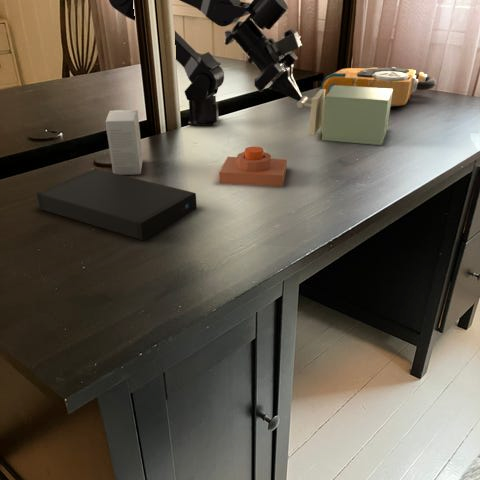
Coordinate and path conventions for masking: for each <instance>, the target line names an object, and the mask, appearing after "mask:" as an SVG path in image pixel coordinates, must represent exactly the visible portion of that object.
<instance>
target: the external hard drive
mask: <svg viewBox="0 0 480 480" xmlns="http://www.w3.org/2000/svg"><path fill="white" fill-rule="evenodd" d="M36 198H37V202H38V206H39V209H40V210H42V211H46V212H49V213H52V214H55V215H58V216H62V217H65V218H68V219H70V220H71V219H72V220H75V221H78V222H81V223H84V224H87V225H91V226H94V227H97V228H99V229H104V230H107V231H110V232H114V233H117V234H120V235H124V236H127V237H130V238H132V239H137V240H140V241H143V242H144V241H146V240H148V239H149V238H151V237H152V236H155V235H156V234H158V233H159V232H161V231H162V230H164V229H166V228H168V227H169V226H171V225H173V224H174V223H176V222H178V221H180V220H181V219H183V218H184V217H186V216H188V215H189V214H191V213H193V212H194V211H196V210H197V209H198V207H197V193H196V192H193V191H188V190H185V189H180V188H177V187H172V186H169V185H165V184H160V183H157V182H153V181H152V182H151V181H147V180H144V179H140V178H136V177H131V176H128V175H119V174H115V173H113V172H111V171H106V170H102V169H98V168H94V169H91V170H89V171H87V172H84V173H82V174H79V175H77V176H74V177H72V178H70V179H68V180H65V181H62V182H60V183H57V184H55V185H53V186H50V187H48V188H46V189H44V190H41V191H38V192H37V193H36Z"/></svg>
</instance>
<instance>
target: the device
mask: <svg viewBox="0 0 480 480" xmlns="http://www.w3.org/2000/svg"><path fill="white" fill-rule="evenodd" d="M436 84H437V81H436V78H435V77H433V76H428V74H427V73H424V72H422V71H420V72H419V73H416V70H415V69H409V68H408V69H407V68H400V67H399V68H398V67H395V66H392V67H367V68H363V67H348V68H341V69H340V70H337V71H335V72H333V73H331V74H329V75H327V76H326V77H325V78H324V79H323V81H322V83H321V86H320V89H326V92H325V97H326V95H327V94H328V93H329V92H330V90H331V89H332V88H333V87H334V85H339V86H356V87H372V88H389V89H393V92H392V100H391V106H390V108H391V107H399V106H406V105H407V104H408V100H410V97H411V95H413V94H414V92H417V91H424V90H431V89H433V88H434V87H435V86H436Z"/></svg>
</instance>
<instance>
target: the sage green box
mask: <svg viewBox="0 0 480 480" xmlns="http://www.w3.org/2000/svg"><path fill="white" fill-rule="evenodd" d="M392 92H393V89H389V88H372V87H356V86H339V85H334V87H333V88H332V89H331V90H330V92H329V93H328V94H327V95H326V97H325V109H324V121H323V133H321V134H322V135H321V136H322V137H321V141H328V142H329V141H330V142H339V143H340V142H342V143H349V144H350V143H351V144H362V145H373V146H374V145H375V146H382V145H383V143H384V140H385V137H386V135H387V132H388V125H389V121H390V120H389V119H390V113H391V107H390V106H391V100H392Z"/></svg>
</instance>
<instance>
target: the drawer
mask: <svg viewBox="0 0 480 480" xmlns="http://www.w3.org/2000/svg"><path fill="white" fill-rule="evenodd" d="M325 92H326V89H321V88H320V89H319V90H318V91H317V93H315V95H314V96H313V97H308V96H307V95H303V96H302V98H301V99H300V100H299V101H297V102H296V107H297V108H298V109H301V108H302V107H309V108H310V121H309V135H316V134H317V132H318V131H319V129H320V134H323V121H324V109H325ZM309 102H310V103H309Z"/></svg>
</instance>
